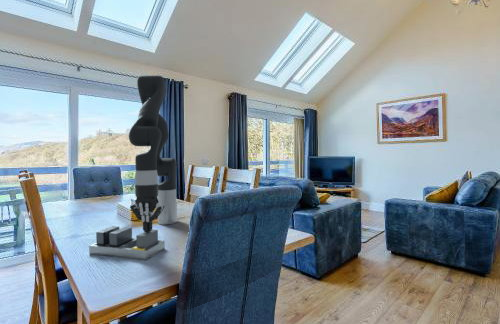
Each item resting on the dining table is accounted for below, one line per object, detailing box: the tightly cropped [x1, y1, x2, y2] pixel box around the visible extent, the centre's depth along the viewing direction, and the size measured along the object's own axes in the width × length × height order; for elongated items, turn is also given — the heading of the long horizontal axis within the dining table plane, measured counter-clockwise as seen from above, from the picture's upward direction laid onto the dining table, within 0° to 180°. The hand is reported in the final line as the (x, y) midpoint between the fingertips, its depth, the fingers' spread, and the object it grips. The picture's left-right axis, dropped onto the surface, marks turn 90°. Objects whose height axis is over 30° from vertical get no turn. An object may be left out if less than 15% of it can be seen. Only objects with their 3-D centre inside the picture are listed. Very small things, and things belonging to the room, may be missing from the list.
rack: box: [88, 225, 166, 261], centre depth 99 cm, size 23×11×8 cm, turn 75°
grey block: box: [135, 228, 159, 250], centre depth 97 cm, size 8×3×7 cm, turn 165°
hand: (147, 231), depth 97 cm, fingers closed
